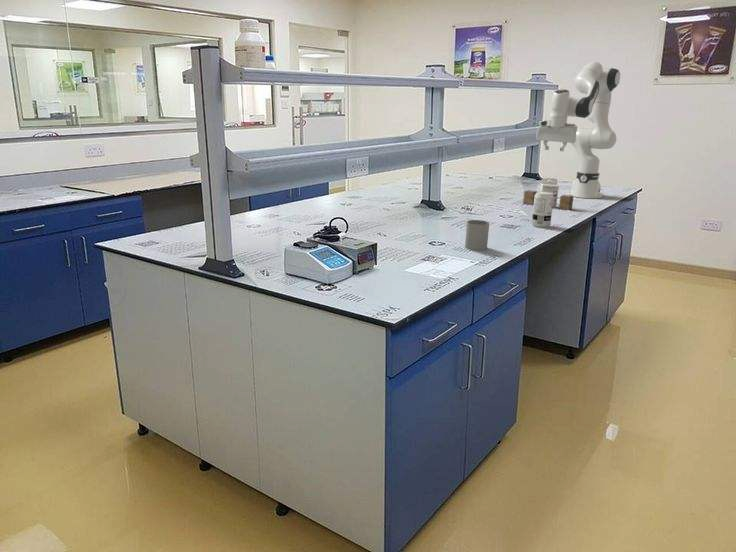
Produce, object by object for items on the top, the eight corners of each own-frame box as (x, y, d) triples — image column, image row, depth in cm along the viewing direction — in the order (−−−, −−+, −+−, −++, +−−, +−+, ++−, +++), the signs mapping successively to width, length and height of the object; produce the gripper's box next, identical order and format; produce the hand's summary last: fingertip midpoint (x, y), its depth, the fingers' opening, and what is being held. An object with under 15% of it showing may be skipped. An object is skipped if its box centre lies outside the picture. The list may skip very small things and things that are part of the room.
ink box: (539, 207, 303) (543, 179, 298) (538, 205, 308) (541, 177, 303) (556, 207, 302) (559, 179, 298) (554, 206, 307) (557, 178, 302)
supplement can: (529, 223, 263) (533, 191, 258) (547, 224, 263) (551, 191, 258) (533, 227, 255) (537, 194, 251) (552, 228, 255) (556, 194, 251)
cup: (462, 249, 217) (464, 223, 213) (467, 244, 224) (469, 219, 221) (485, 251, 214) (487, 225, 211) (488, 246, 221) (491, 221, 218)
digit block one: (562, 208, 302) (564, 194, 300) (571, 209, 299) (573, 195, 297) (558, 209, 298) (560, 195, 296) (568, 210, 295) (570, 197, 293)
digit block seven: (527, 202, 314) (528, 189, 312) (535, 204, 311) (537, 191, 309) (523, 203, 310) (524, 190, 308) (531, 205, 307) (533, 192, 305)
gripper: (580, 124, 288) (576, 151, 292) (541, 121, 300) (538, 148, 304) (575, 124, 283) (571, 152, 287) (536, 122, 295) (533, 149, 299)
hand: (554, 150), depth 296 cm, fingers open, 7 cm apart
